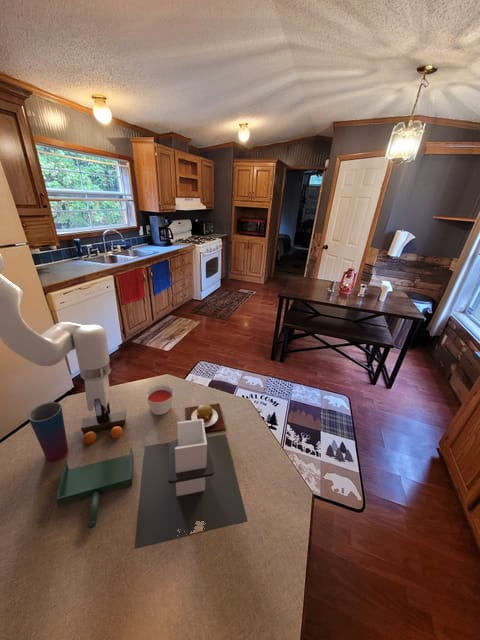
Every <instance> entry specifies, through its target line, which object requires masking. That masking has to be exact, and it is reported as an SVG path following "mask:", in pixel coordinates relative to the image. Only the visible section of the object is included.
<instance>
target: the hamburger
mask: <svg viewBox="0 0 480 640" xmlns="http://www.w3.org/2000/svg"><path fill="white" fill-rule="evenodd" d="M184 410H185V419H186V420H185V421H190V420H197V419H203V422H204V428H205V434H209V433H215V432H222V431H226V430H227V429H226V425H225V420H224V418H223V413H222V410H221V406H220V403H211V404H208V403H201V404H200V405H195V406H188V407H187V406H186V407H184Z"/></svg>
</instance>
